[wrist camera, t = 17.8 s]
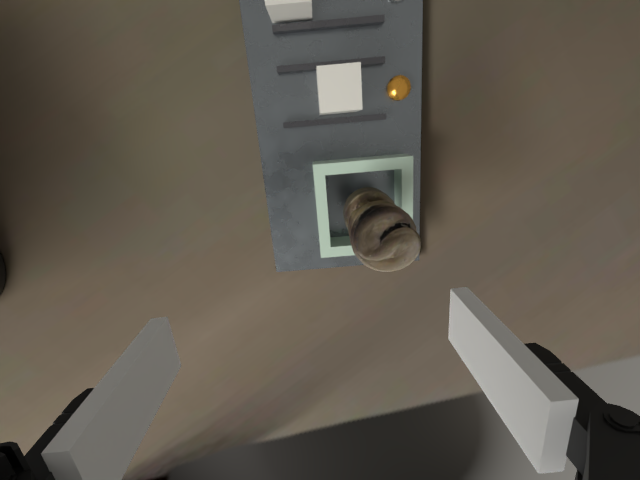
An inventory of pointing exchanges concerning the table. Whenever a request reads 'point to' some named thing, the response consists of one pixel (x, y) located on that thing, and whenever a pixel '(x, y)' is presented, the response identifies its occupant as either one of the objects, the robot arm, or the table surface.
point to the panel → (333, 129)
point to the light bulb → (380, 230)
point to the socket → (395, 162)
